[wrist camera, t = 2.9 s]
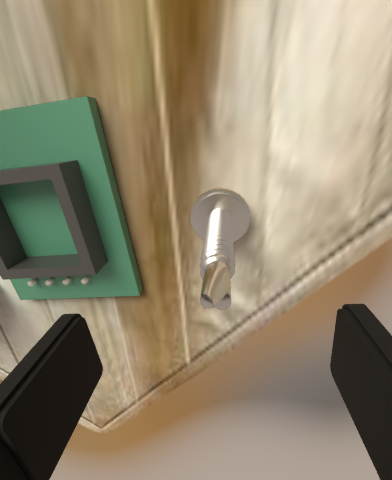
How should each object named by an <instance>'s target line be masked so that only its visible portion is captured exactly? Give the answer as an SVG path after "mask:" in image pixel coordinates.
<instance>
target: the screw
mask: <svg viewBox="0 0 392 480" xmlns="http://www.w3.org/2000/svg"><path fill="white" fill-rule="evenodd" d="M191 224H192V227H193V229H194V231H195V233H196V234H197V235H198V236H199V237H200V238H201V239H202V240H204V244H203V251H202V256H201V262H200V275H201V278H202V280H203V283H202V290H201V297H200V302H201V305H202V306H203V307H204V308H217V309H220V310H224V309H227V308H228V307H229V306H230V304H231V286H230V279H231V278H232V276H233V275H234V272H235V268H234V267H235V256H234V243H233V242H235V241H237V240H238V239H240V238H241V237H242V236H243V235H244V234H245V232H246V231H247V229H248V226H249V224H250V210H249V207H248V204H247V203H246V201H245V200H244V198H243V197H242V196H241V195H240V194H238V193H236V192H235V191H233V190H230V189H226V188H215V189H211V190H208V191H206V192H205V193H203V194H202V195H201V196H200V197H198V198H197V200H196V201H195V203H194V205H193V207H192V210H191Z"/></svg>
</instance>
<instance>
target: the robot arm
mask: <svg viewBox="0 0 392 480" xmlns="http://www.w3.org/2000/svg"><path fill="white" fill-rule="evenodd" d="M330 367H331V372H332V376H333V378H334V380H335V383H336V385H337V387H338V389H339V391H340V393H341V395H342V397H343V400H344V402H345V404H346V406H347V408H348V410H349V413H350V414H351V417H352V419H353V421H354V423H355V426H356V428H357V430H358V432H359V434H360V436H361V438H362V440H363V443H364V445H365V447H366V449H367V451H368V454H369V456H370V458H371V460H372V462H373V464H374V466H375V469H376V471H377V473H378V475H379V477H380V479H381V480H392V336H391V334H390V333H389V332H388V331H387V330H386V329H385V327H384V326H383V325H382V324H381V323H380V322H379V320H378V319H377V318H376V317H375V316H374V314H373V313H372V312H371V311H370V310H369V309H368V308H367V306H366V305H364V304H345V305H343V307H342V309H339V310H338V311H337V317H336V325H335V333H334V340H333V348H332V356H331V364H330ZM102 371H103V367H102V363H101V361H100V358H99V355H98V353H97V350H96V347H95V344H94V342H93V339H92V336H91V334H90V331H89V328H88V326H87V323H86V320H85V318H83V317H82V316H81V315H80V314H64V315H62V316H61V317H60V318H59V319H58V320H57V321H56V322H55V323H54V324H53V326H52V327H51V328H50V329H49V330H48V331H47V332H46V333H45V335H44V336H43V337H42V338H41V339H40V340H39V341H38V342H37V344H36V345H35V346H34V347H33V348H32V349H31V350H30V351H29V353H28V354H27V355H26V356H25V357H24V358H23V359H22V360H21V361H20V363H19V364H18V365H17V366H16V367H15V368H14V369H13V370H12V372H11V373H10V374H9V375H8V376H7V377H6V378H5V379H4V381H3V382H2V383H1V384H0V480H49V479H50V477H51V475H52V473H53V471H54V469H55V467H56V465H57V463H58V461H59V459H60V457H61V455H62V453H63V451H64V449H65V447H66V445H67V443H68V441H69V439H70V437H71V435H72V433H73V431H74V429H75V427H76V425H77V423H78V421H79V419H80V417H81V415H82V413H83V411H84V409H85V407H86V405H87V403H88V401H89V399H90V397H91V395H92V393H93V391H94V389H95V387H96V385H97V383H98V381H99V379H100V377H101V375H102Z"/></svg>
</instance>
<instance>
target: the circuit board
mask: <svg viewBox="0 0 392 480" xmlns="http://www.w3.org/2000/svg"><path fill="white" fill-rule="evenodd" d="M0 275H1V277H2V279H10V280H11V282H12V284H13V286H14V288H15V290H16V292H17V294H18V296H19V298H20V300H30V299H59V298H88V297H117V296H140V294H141V292H142V290H143V287H142V283H141V279H140V275H139V271H138V267H137V263H136V259H135V255H134V251H133V247H132V243H131V239H130V235H129V231H128V227H127V223H126V220H125V216H124V212H123V208H122V204H121V200H120V196H119V192H118V188H117V184H116V180H115V176H114V172H113V168H112V164H111V160H110V156H109V152H108V148H107V144H106V140H105V137H104V133H103V129H102V125H101V121H100V117H99V113H98V109H97V105H96V101H95V98H92V97H88V96H86V97H80V98H74V99H68V100H62V101H56V102H50V103H44V104H39V105H33V106H27V107H21V108H15V109H9V110H3V111H0Z"/></svg>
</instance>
